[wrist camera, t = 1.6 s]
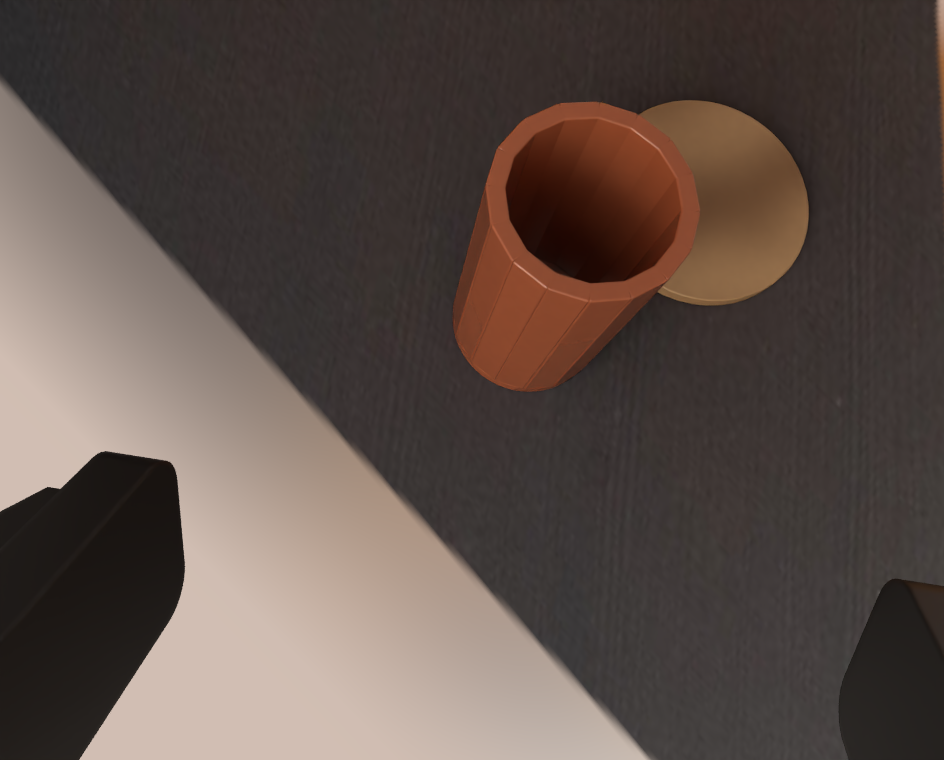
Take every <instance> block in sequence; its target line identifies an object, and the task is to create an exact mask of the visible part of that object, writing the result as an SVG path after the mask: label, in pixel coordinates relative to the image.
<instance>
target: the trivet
mask: <svg viewBox="0 0 944 760" xmlns="http://www.w3.org/2000/svg"><path fill="white" fill-rule="evenodd" d="M639 115H641V116H642V117H643V118H644V119H646V120H647V121H648V122H650V123H651V124H652V125H654V126H655V127H656V128H658V129H659V130H660V131H662V132H663V133H664V134H665V135H667V136H668V137H669V138H670V140H672V141H673V142H674V144H675V145H676V147H677V149H678V150H679V152H680V153H681V155H682V156H683V158H684V160H685V161H686V163H687V164H688V166H689V167H690V169H691V171H692V174H693V175H694V180H695V185H696V190H697V196H698V201H699V206H700V218H699V222H698V226H697V231H696V235H695V239H694V244H693V248H692V249H691V252H690V254H689V255H688V256H687V257H686V259H685V260H684V261H683V263H682V264H681V265H680V266H679V268H678V269H677V270H676V272H675V273H674V274H673V275H672V277H671V278H670V279H669V280H668V281H667V282H666V283H665V284H664V285H663V286H662V288H661V289H660V290H659V291H658V293H660V294H662V295H664V296H667V297H670V298H672V299H675V300H678V301H682V302H686V303H690V304H697V305H725V304H732V303H736V302H739V301H743V300H746V299H748V298H750V297H753V296H755V295H757V294H759V293H760V292H762V291H764V290H765V289H767V288H768V287H770V286H771V285H772V284H774V283H775V282H776V281H777V280H778V279H780V278H781V277H782V276H783V275H784V274H785V273H786V272H787V271H788V269H789V268H790V267H791V266H792V265H793V263H794V261H795V260H796V258H797V256H798V255H799V253H800V250H801V248H802V246H803V243H804V240H805V236H806V233H807V228H808V219H809V206H808V198H807V192H806V188H805V185H804V181H803V178H802V176H801V173H800V171H799V169H798V166H797V165H796V163H795V161H794V159H793V158H792V156H791V154H790V153H789V152H788V150H787V149H786V148H785V146H784V145H783V144H782V143H781V142H780V140H779V139H778V138H777V137H776V136H775V135H774V134H773V133H772V132H771V131H769V130H768V129H767V128H766V127H765V126H763V125H762V124H761V123H759V122H758V121H756V120H755V119H753V118H752V117H750V116H748V115H746V114H744V113H742V112H740V111H738V110H736V109H733V108H731V107H728V106H725V105H721V104H718V103H714V102H707V101H700V100H683V101H673V102H669V103H665V104H661V105H658V106H655V107H653V108H650V109H648V110H646V111H644V112H642V113H640V114H639Z"/></svg>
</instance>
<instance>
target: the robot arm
mask: <svg viewBox="0 0 944 760" xmlns="http://www.w3.org/2000/svg"><path fill="white" fill-rule="evenodd" d="M180 517H181V516H180V505H179V495H178V483H177V475H176V472H175V469H174V467H173V465H172V464H171V463H170V462H168V461H164V460H158V459H151V458H145V457H139V456H133V455H126V454H120V453H113V452H107V451H105V452H100V453H99V454H97V455H95V456H94V457H93V458H92V459H91V460H90V461H89V462H88V463H87V464H86V465H85V466H84V467H83V468H82V469H81V470H80V471H79V472H78V473H77V474H76V475H74V477H72V478H71V479H70V480H69V481H68V482H67V483H66V484H65V485H64V486H63V487H62V488H61V489H57V488H51V487H47V488H45V489H43V490H41V491H39V492H37V493H35V494H33V495H31V496H30V497H28V498H26V499H24V500H22V501H20V502H18V503H16V504H14V505H12V506H10V507H9V508H6V509H4V510H2V511H1V512H0V760H79V759H80V757H81V756H82V754H83V753H84V751H85V750H86V748H87V747H88V745H89V744H90V742H91V741H92V739H93V738H94V736H95V734H96V733H97V731H98V730H99V728H100V727H101V725H102V724H103V722H104V721H105V719H106V718H107V716H108V714H109V713H110V711H111V710H112V708H113V707H114V705H115V704H116V702H117V701H118V699H119V698H120V696H121V694H122V693H123V691H124V690H125V688H126V687H127V685H128V684H129V682H130V681H131V679H132V678H133V676H134V675H135V673H136V671H137V670H138V668H139V667H140V665H141V664H142V662H143V660H144V659H145V658H146V656H147V655H148V653H149V651H150V650H151V648H152V647H153V645H154V644H155V642H156V641H157V639H158V638H159V636H160V635H161V633H162V631H163V630H164V628H165V627H166V625H167V624H168V622H169V621H170V619H171V617H172V615H173V613H174V611H175V609H176V607H177V604H178V601H179V598H180V595H181V591H182V586H183V581H184V573H185V561H184V550H183V539H182V528H181V518H180ZM839 724H840V731H841V736H842V740H843V743H844V746H845V749H846V753H847V756H848V759H849V760H944V586H939V585H933V584H926V583H920V582H914V581H908V580H901V579H892V580H890V581H888V582H887V583H886V584H885V585H884V587H883V588H882V590H881V592H880V594H879V596H878V598H877V600H876V603H875V605H874V607H873V610H872V612H871V615H870V617H869V619H868V622H867V624H866V626H865V629H864V631H863V633H862V636H861V638H860V640H859V643H858V645H857V648H856V650H855V652H854V655H853V657H852V659H851V662H850V664H849V666H848V669H847V671H846V673H845V676H844V679H843V682H842V686H841V690H840V697H839Z"/></svg>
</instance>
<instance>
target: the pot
mask: <svg viewBox="0 0 944 760" xmlns="http://www.w3.org/2000/svg"><path fill="white" fill-rule="evenodd" d="M699 218H700V206H699V201H698V196H697V190H696V185H695V180H694V175H693V174H692V171H691V169H690V167H689V166H688V164H687V163H686V161H685V160H684V158H683V156H682V155H681V153H680V152H679V150H678V149H677V147H676V145H675V144H674V142H673V141H672V140H670V138H669V137H668V136H667V135H665V134H664V133H663V132H662V131H660V130H659V129H658V128H656V127H655V126H654V125H652V124H651V123H650V122H648V121H647V120H646V119H644V118H643V117H642V116H641V115H638V114H637V113H634V112H630V111H627V110H624V109H621V108H618V107H615V106H612V105H609V104H605V103H602V102H600V103H599V102H576V103H560V104H556V105H554V106H552V107H549V108H547V109H545V110H543V111H541V112H538V113H536V114H534V115H532V116H529V117H527V118H525V119H524V120H522V121H521V122H520V123H519V124H518V125H517V126H516V127H515V129H514V130H513V131H512V132H511V133H510V134H509V135H508V136H507V137H506V138H505V140H504V141H503V142H502V143H501V144H500V145H499V146H498V149H497V150H496V152H495V155H494V159H493V162H492V165H491V168H490V171H489V175H488V178H487V181H486V185H485V188H484V192H483V196H482V199H481V203H480V207H479V211H478V214H477V218H476V222H475V226H474V229H473V233H472V237H471V240H470V244H469V248H468V252H467V255H466V259H465V263H464V267H463V270H462V274H461V278H460V281H459V285H458V289H457V293H456V296H455V300H454V304H453V328H454V333H455V337H456V340H457V343H458V345H459V348H460V350H461V352H462V353H463V355H464V356H465V358H466V360H467V361H468V362H469V363H470V364H471V366H472V367H473V368H474V369H475V370H476V371H477V372H478V373H480V374H481V375H482V376H484V377H485V378H486V379H488V380H489V381H491V382H493V383H495V384H497V385H499V386H502V387H505V388H508V389H512V390H516V391H541V390H546V389H550V388H553V387H556V386H558V385H560V384H562V383H564V382H566V381H567V380H569V379H570V378H572V377H573V376H574V375H576V374H578V373H579V372H580V371H581V370H582V369H583V368H584V367H585V366H586V365H587V364H588V363H589V362H590V361H591V360H592V359H593V358H594V357H595V356H596V355H597V354H598V353H599V351H600V350H601V349H602V348H603V347H604V346H605V345H606V344H607V343H608V342H609V341H610V340H611V339H612V338H613V337H614V336H615V335H616V334H617V333H618V332H619V331H620V330H621V329H622V328H623V327H624V326H625V325H626V324H627V323H628V322H629V321H630V319H631V318H632V317H633V316H634V315H635V314H636V313H637V312H638V311H639V310H640V309H641V308H642V307H643V306H644V305H645V304H646V303H647V302H648V301H649V300H650V299H651V298H652V297H653V296H654V295H655V294H656V293H657V292H658V291H659V290H660V289H661V288H662V286H663V285H664V284H665V283H666V282H667V281H668V280H669V279H670V278H671V277H672V275H673V274H674V273H675V272H676V270H677V269H678V268H679V266H680V265H681V264H682V263H683V261H684V260H685V259H686V257H687V256H688V255H689V254H690V252H691V249H692V248H693V244H694V239H695V235H696V231H697V226H698V222H699Z"/></svg>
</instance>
